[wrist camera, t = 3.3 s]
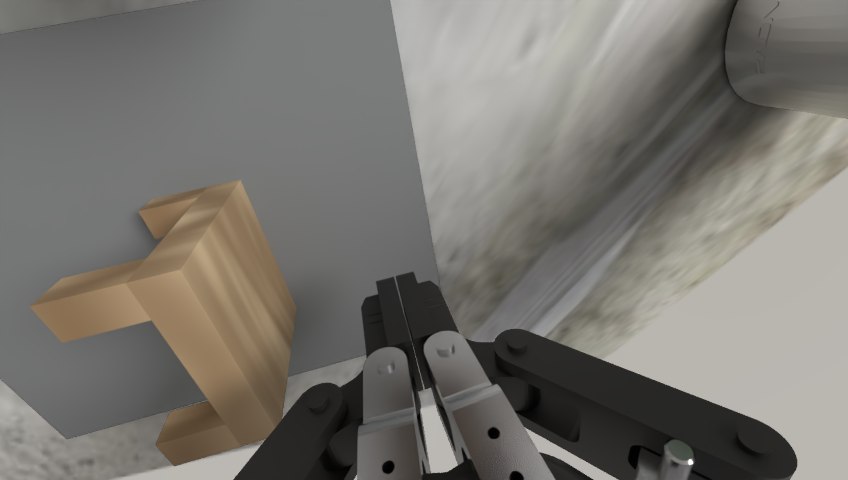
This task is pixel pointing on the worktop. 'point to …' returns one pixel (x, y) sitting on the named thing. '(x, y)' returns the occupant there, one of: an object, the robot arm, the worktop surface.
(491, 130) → the worktop surface
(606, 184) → the worktop surface
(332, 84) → the mat
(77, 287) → the wooden bench
